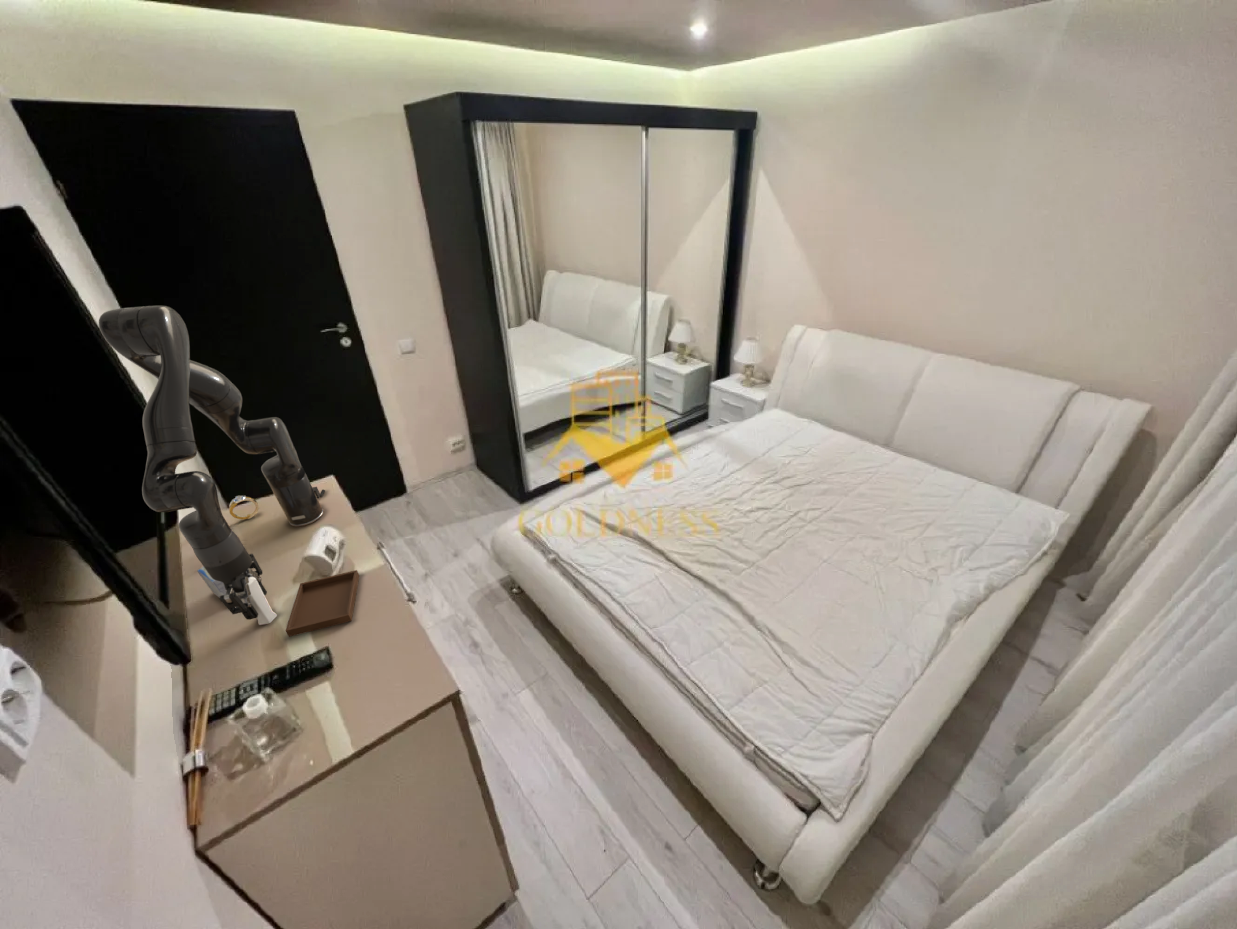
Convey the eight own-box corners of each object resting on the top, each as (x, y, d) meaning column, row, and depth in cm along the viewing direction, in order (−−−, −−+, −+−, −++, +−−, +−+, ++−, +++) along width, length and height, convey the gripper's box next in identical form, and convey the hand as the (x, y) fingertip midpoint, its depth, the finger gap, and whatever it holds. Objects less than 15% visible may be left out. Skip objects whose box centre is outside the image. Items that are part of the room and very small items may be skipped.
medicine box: (248, 594, 120) (231, 569, 116) (229, 606, 117) (211, 582, 113) (232, 582, 124) (216, 558, 119) (213, 594, 121) (195, 570, 116)
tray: (303, 589, 121) (300, 583, 120) (359, 575, 124) (356, 569, 123) (289, 637, 109) (285, 631, 108) (351, 620, 112) (348, 614, 111)
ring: (262, 510, 149) (250, 490, 145) (263, 516, 147) (251, 495, 143) (236, 519, 146) (223, 499, 142) (236, 525, 144) (223, 504, 140)
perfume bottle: (251, 622, 113) (220, 577, 105) (270, 609, 116) (241, 564, 108) (263, 629, 111) (231, 584, 103) (281, 615, 114) (252, 571, 106)
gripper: (231, 572, 97) (267, 625, 106) (252, 528, 109) (283, 580, 118) (188, 581, 95) (228, 635, 104) (214, 536, 107) (249, 588, 116)
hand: (257, 605), depth 111 cm, fingers open, 6 cm apart
